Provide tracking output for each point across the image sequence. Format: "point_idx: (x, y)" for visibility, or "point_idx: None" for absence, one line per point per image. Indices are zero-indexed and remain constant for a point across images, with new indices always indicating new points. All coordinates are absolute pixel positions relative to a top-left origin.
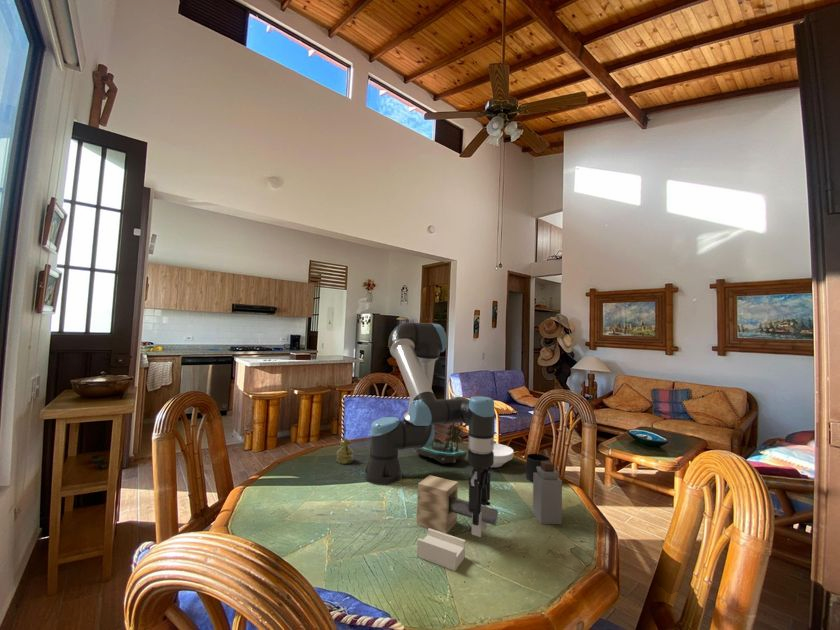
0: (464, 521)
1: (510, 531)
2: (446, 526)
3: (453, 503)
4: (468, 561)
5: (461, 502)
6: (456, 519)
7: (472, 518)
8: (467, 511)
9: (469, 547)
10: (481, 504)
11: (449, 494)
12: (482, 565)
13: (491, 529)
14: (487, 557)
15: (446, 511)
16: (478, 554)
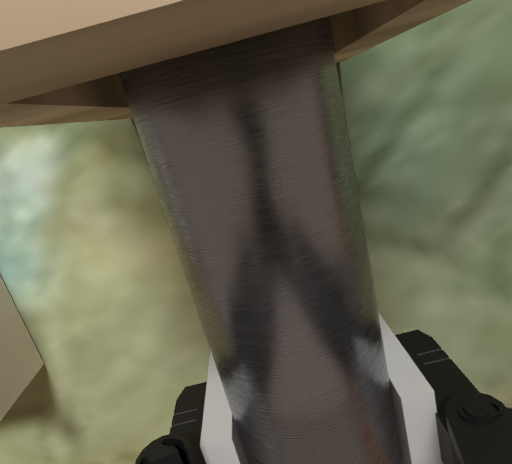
0: (400, 98)
1: (484, 385)
2: (118, 118)
3: (155, 161)
4: (34, 394)
5: (232, 278)
6: (340, 60)
7: (208, 391)
8: (212, 355)
9: (144, 324)
10: (437, 425)
11: (25, 92)
12: (73, 453)
13: (429, 300)
14: (151, 434)
15: (48, 122)
16: (132, 393)
